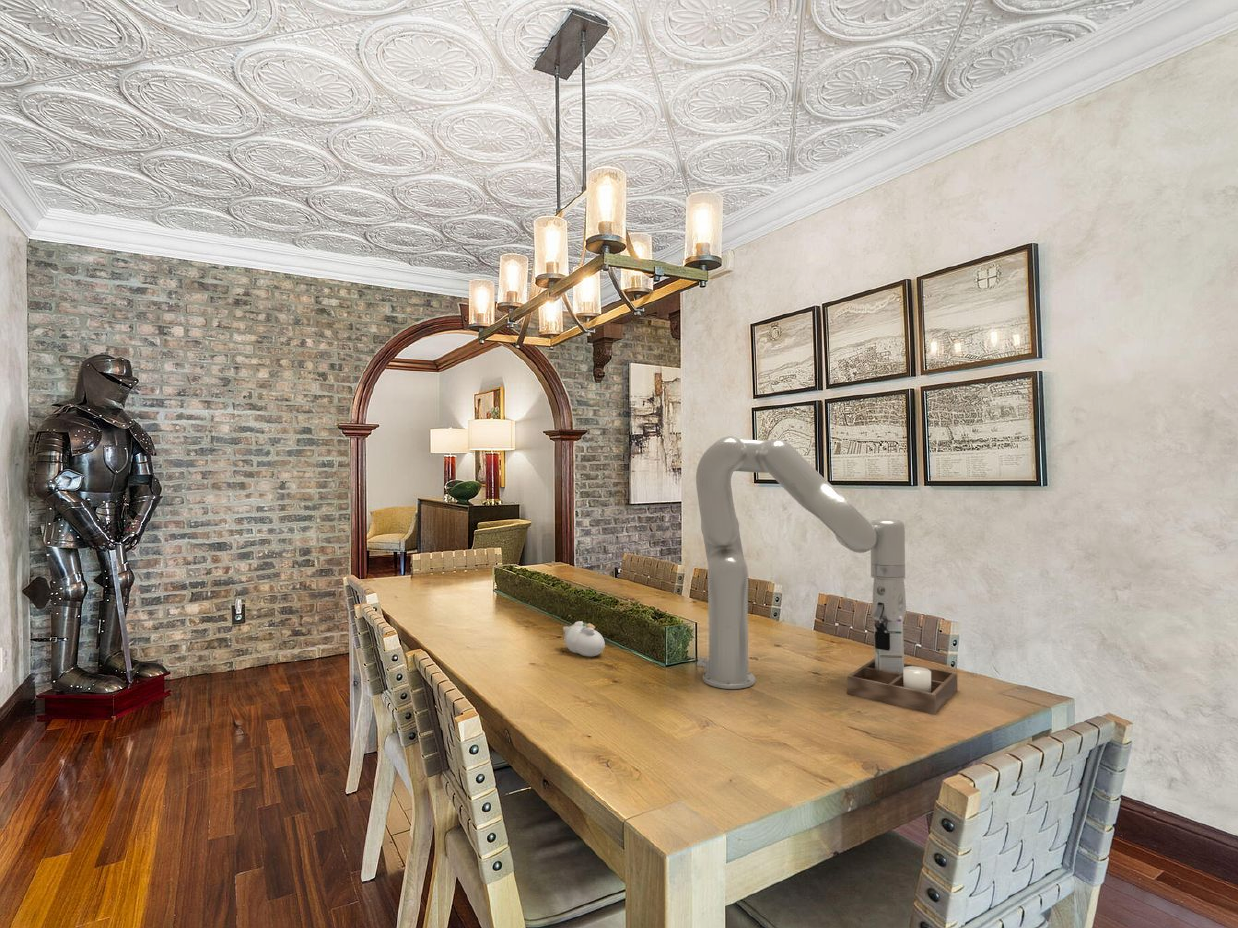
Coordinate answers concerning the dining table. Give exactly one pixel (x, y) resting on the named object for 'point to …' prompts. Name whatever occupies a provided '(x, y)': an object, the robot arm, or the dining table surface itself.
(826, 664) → the dining table surface
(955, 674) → the tray
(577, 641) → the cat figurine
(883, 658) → the grey tall block
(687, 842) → the dining table surface
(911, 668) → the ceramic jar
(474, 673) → the dining table surface
